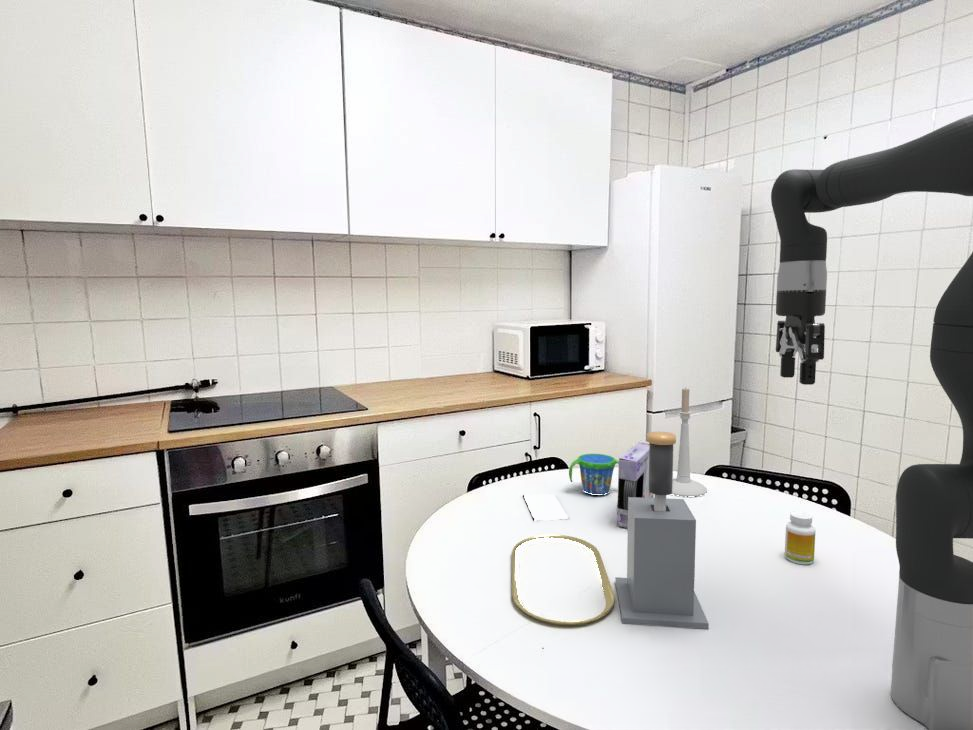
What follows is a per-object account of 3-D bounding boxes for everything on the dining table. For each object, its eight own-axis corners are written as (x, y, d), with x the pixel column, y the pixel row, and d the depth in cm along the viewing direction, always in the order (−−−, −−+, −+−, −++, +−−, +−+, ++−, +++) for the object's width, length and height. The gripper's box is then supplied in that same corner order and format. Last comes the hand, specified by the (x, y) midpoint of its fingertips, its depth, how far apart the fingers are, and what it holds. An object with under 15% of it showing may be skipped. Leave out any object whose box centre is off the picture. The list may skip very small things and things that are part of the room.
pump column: (708, 629, 92) (711, 525, 90) (622, 623, 94) (623, 521, 92) (689, 586, 105) (692, 495, 103) (615, 582, 107) (616, 493, 105)
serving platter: (512, 630, 93) (512, 621, 93) (512, 540, 128) (512, 534, 127) (624, 631, 92) (624, 622, 92) (593, 541, 127) (593, 534, 127)
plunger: (675, 590, 96) (678, 438, 93) (646, 588, 97) (649, 437, 94) (669, 576, 101) (673, 431, 98) (643, 575, 102) (645, 431, 99)
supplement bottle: (818, 566, 112) (820, 520, 111) (789, 564, 113) (791, 519, 112) (808, 554, 118) (810, 510, 116) (781, 552, 119) (783, 509, 118)
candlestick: (711, 498, 152) (715, 391, 148) (663, 496, 154) (666, 390, 150) (701, 483, 164) (704, 384, 161) (657, 481, 166) (658, 383, 163)
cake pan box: (634, 532, 130) (635, 460, 128) (613, 528, 133) (614, 457, 131) (655, 506, 146) (656, 441, 144) (637, 503, 149) (637, 439, 147)
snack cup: (621, 487, 162) (621, 453, 161) (626, 499, 152) (627, 463, 151) (567, 486, 164) (567, 452, 162) (569, 498, 153) (569, 463, 152)
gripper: (763, 289, 103) (760, 375, 105) (794, 287, 89) (790, 386, 91) (806, 289, 102) (802, 375, 104) (844, 287, 88) (839, 387, 90)
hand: (796, 380), depth 97 cm, fingers open, 8 cm apart
